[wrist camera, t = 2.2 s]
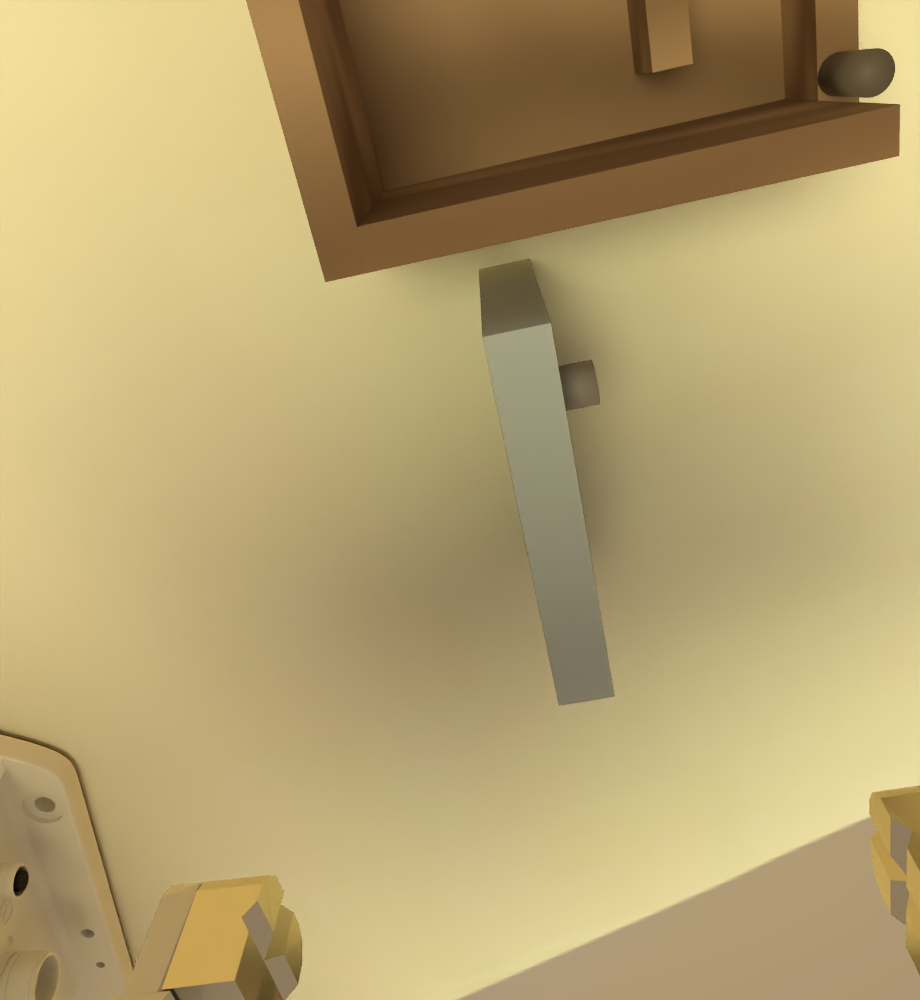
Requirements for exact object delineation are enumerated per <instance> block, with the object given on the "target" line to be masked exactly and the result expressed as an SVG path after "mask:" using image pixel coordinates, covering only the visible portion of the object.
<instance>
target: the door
mask: <svg viewBox="0 0 920 1000" xmlns="http://www.w3.org/2000/svg"><path fill="white" fill-rule="evenodd" d="M479 281H480V299H481V317H482V335H483V341H484V346H485V351H486V356H487V361H488V365H489V370H490V375H491V380H492V385H493V390H494V394H495V399H496V404H497V409H498V414H499V418H500V423H501V428H502V433H503V438H504V443H505V447H506V452H507V457H508V462H509V467H510V471H511V476H512V481H513V486H514V491H515V496H516V500H517V505H518V510H519V515H520V520H521V524H522V529H523V534H524V539H525V544H526V549H527V553H528V558H529V563H530V568H531V573H532V577H533V582H534V587H535V592H536V597H537V602H538V606H539V611H540V616H541V621H542V626H543V631H544V635H545V640H546V645H547V650H548V655H549V659H550V664H551V669H552V674H553V679H554V684H555V688H556V693H557V698H558V703H559V705H565V704H571V703H577V702H583V701H590V700H596V699H602V698H608V697H614V690H613V684H612V678H611V673H610V667H609V661H608V655H607V649H606V643H605V637H604V631H603V626H602V620H601V614H600V608H599V602H598V596H597V590H596V585H595V579H594V573H593V567H592V561H591V555H590V549H589V543H588V538H587V532H586V526H585V520H584V514H583V508H582V502H581V497H580V491H579V485H578V479H577V473H576V467H575V461H574V455H573V450H572V444H571V438H570V432H569V426H568V420H567V414H566V411H567V410H572V409H577V408H582V407H587V406H592V405H597V404H599V403H600V401H599V391H598V385H597V379H596V374H595V370H594V366H593V362H592V360H588V361H583V362H578V363H573V364H568V365H563V366H558V362H557V356H556V350H555V344H554V338H553V332H552V326H551V322H550V319H549V316H548V313H547V310H546V307H545V304H544V301H543V299H542V296H541V293H540V290H539V287H538V284H537V281H536V278H535V275H534V272H533V270H532V267H531V264H530V261H529V259H526V260H522V261H517V262H512V263H508V264H503V265H499V266H494V267H489V268H485V269H480V270H479Z"/></svg>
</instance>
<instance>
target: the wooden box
mask: <svg viewBox="0 0 920 1000" xmlns="http://www.w3.org/2000/svg"><path fill="white" fill-rule="evenodd" d="M246 1H247V5H248V9H249V12H250V16H251V19H252V23H253V26H254V30H255V33H256V37H257V40H258V44H259V48H260V51H261V55H262V58H263V62H264V65H265V69H266V72H267V76H268V80H269V83H270V87H271V90H272V94H273V97H274V101H275V104H276V108H277V112H278V115H279V119H280V122H281V126H282V129H283V133H284V136H285V140H286V143H287V147H288V151H289V154H290V158H291V161H292V165H293V168H294V172H295V175H296V179H297V183H298V186H299V190H300V193H301V197H302V200H303V204H304V207H305V211H306V214H307V218H308V222H309V225H310V229H311V232H312V236H313V239H314V243H315V246H316V250H317V254H318V257H319V261H320V264H321V268H322V271H323V275H324V278H325V282H328V281H332V280H337V279H342V278H346V277H351V276H355V275H360V274H364V273H369V272H373V271H378V270H382V269H387V268H392V267H396V266H401V265H405V264H410V263H414V262H419V261H423V260H428V259H433V258H437V257H442V256H446V255H451V254H455V253H460V252H464V251H469V250H473V249H478V248H483V247H487V246H492V245H496V244H501V243H505V242H510V241H514V240H519V239H523V238H528V237H533V236H537V235H542V234H546V233H551V232H555V231H560V230H564V229H569V228H573V227H578V226H583V225H587V224H592V223H596V222H601V221H605V220H610V219H614V218H619V217H624V216H628V215H633V214H637V213H642V212H646V211H651V210H655V209H660V208H664V207H669V206H674V205H678V204H683V203H687V202H692V201H696V200H701V199H705V198H710V197H714V196H719V195H724V194H728V193H733V192H737V191H742V190H746V189H751V188H755V187H760V186H764V185H769V184H774V183H778V182H783V181H787V180H792V179H796V178H801V177H805V176H810V175H815V174H819V173H824V172H828V171H833V170H837V169H842V168H846V167H851V166H855V165H860V164H865V163H869V162H874V161H878V160H883V159H887V158H892V157H896V156H899V131H900V104H880V103H860V102H859V97H866V98H868V97H874V96H877V95H879V94H881V93H882V92H883V91H885V90H886V89H887V87H888V86H889V85H890V83H891V81H892V79H893V77H894V73H895V63H894V60H893V58H892V56H891V55H890V53H889V52H887V51H886V50H883V49H879V48H876V49H864V50H858V0H246Z"/></svg>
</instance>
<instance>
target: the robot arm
mask: <svg viewBox="0 0 920 1000" xmlns="http://www.w3.org/2000/svg"><path fill="white" fill-rule="evenodd" d="M870 816H871V818H872V820H873V822H874V823H875V826H876V828H877V831H876V832H875V833H874V834H873V835H872V837H871V838H870V846H871V847H870V848H871V859H872V864H873V868H874V872H875V877H876V880H877V882H878V886H879V888H880V891H881V894H882V897H883V899H884V901H885V903H886V905H887V907H888V909H889V912H890V914H891V915H892V916H894V917H895V918H896V919H898V920H899V921H901V922H902V923H903V924H905V925H906V948H907V949H908V952H909V954H910V956H911V958H912V960H913V962H914V964H915V966H916V968H917V970H918V972H919V974H920V786H913V787H906V788H900V789H893V790H886V791H879V792H873V793H872V794H871V797H870ZM283 892H284V891H283V889H282V887H281V885H280V883H279V882H278V880H277V878H276V876H269V875H268V876H258V877H249V878H240V879H230V880H221V881H211V882H204V883H197V884H188V885H179V886H172V887H171V888H170V889H169V890H168V891H167V892H166V893H165V894H164V896H163V897H162V899H161V902H160V904H159V907H158V909H157V912H156V914H155V917H154V919H153V922H152V924H151V927H150V929H149V932H148V934H147V937H146V939H145V942H144V944H143V947H142V949H141V952H140V954H139V957H138V959H137V962H136V964H135V967H134V969H132V965H131V961H130V958H129V954H128V951H127V947H126V944H125V940H124V937H123V933H122V930H121V926H120V923H119V919H118V916H117V912H116V909H115V905H114V902H113V898H112V895H111V891H110V888H109V884H108V881H107V877H106V874H105V870H104V867H103V863H102V860H101V856H100V853H99V849H98V846H97V842H96V839H95V835H94V832H93V828H92V825H91V821H90V818H89V814H88V811H87V807H86V804H85V800H84V797H83V793H82V790H81V786H80V783H79V779H78V776H77V773H76V770H75V768H74V766H73V765H72V763H71V762H70V761H69V760H68V759H67V758H66V757H65V756H63V755H61V754H60V753H58V752H56V751H54V750H51V749H49V748H46V747H43V746H40V745H37V744H34V743H31V742H27V741H23V740H20V739H16V738H12V737H8V736H5V735H1V734H0V1000H285V999H286V998H287V997H288V996H289V995H290V993H291V992H292V991H293V990H294V989H295V987H296V986H297V985H298V982H299V977H300V971H301V966H302V938H301V933H300V928H299V924H298V922H297V920H296V917H295V915H294V913H293V912H292V911H290V910H288V909H287V908H285V907H284V906H282V905H280V904H281V900H282V896H283Z"/></svg>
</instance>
